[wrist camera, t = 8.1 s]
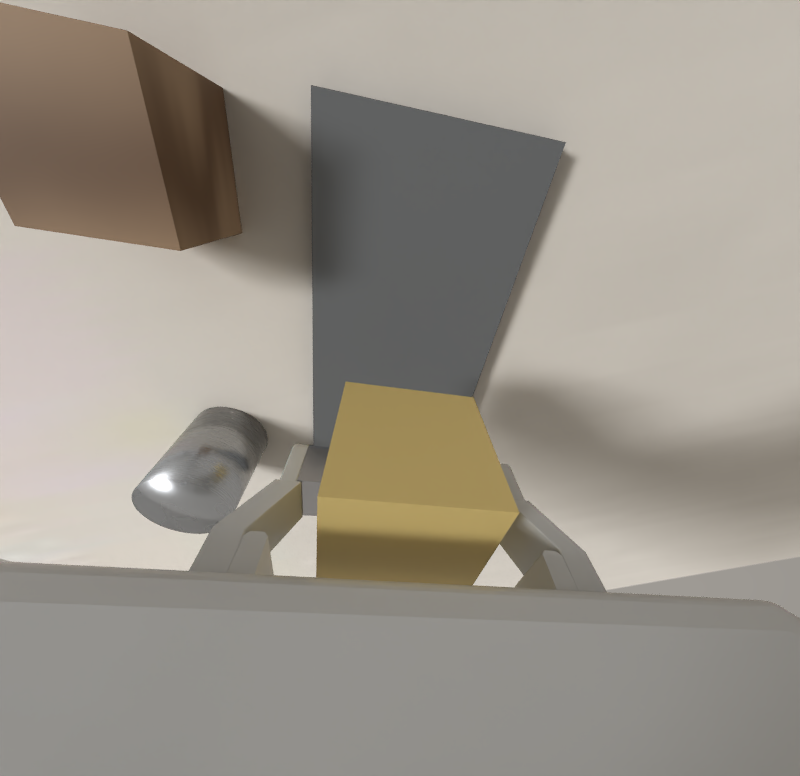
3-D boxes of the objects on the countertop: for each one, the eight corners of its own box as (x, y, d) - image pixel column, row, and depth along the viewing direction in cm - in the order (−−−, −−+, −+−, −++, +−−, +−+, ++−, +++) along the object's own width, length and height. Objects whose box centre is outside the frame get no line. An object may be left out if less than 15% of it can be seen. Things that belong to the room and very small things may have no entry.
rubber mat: (315, 91, 11) (311, 85, 11) (556, 144, 12) (565, 142, 12) (316, 469, 23) (313, 477, 23) (437, 479, 25) (438, 488, 24)
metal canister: (186, 403, 20) (116, 475, 15) (264, 411, 20) (222, 483, 15) (202, 454, 22) (148, 530, 17) (270, 460, 23) (236, 536, 18)
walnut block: (81, 59, 11) (-112, -23, 7) (223, 88, 11) (126, 30, 7) (129, 214, 14) (14, 225, 9) (242, 232, 14) (180, 250, 10)
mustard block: (345, 381, 11) (317, 496, 7) (473, 397, 12) (519, 512, 7) (339, 470, 14) (316, 591, 10) (442, 480, 14) (463, 598, 10)
